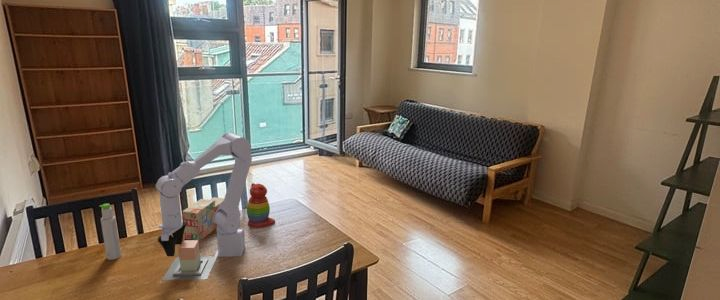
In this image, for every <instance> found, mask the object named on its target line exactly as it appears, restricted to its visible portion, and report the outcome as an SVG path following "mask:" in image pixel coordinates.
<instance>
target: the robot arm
mask: <svg viewBox="0 0 720 300" xmlns="http://www.w3.org/2000/svg"><path fill="white" fill-rule="evenodd" d="M251 148H252V145H251V144H250V142H249V140H248V139H247V138H245V137H242V136H240V135H238V134H236V133H234V132H231V131H229V132H225V133H224V134H223V135H222V136H220V137H218V138H217V139H216V141H215V142H214V143H213V144H212V145H210V146H209V147H208V148H206V150H204V151H203V152H202V153H200V155H198V156H197V157H196V158H195V159H194V160H186V161H182V162H181V163H180V164H179V166H178V167H177V168H175V169H174V170H172V172H171V171H170V172H168V173H167V175H162V176H161V177H160V178H158V180H157V182H156V183H155V188H156V190H157V191H158V192H159V193H158V194H159V205H160V214H161V215H160V216H161V222H162V223H160V224H159V225H158V228H159V229H161V235H159V236H158V237H157V242H158V243H159V245H161V246H162V248H163V250H164V252H165V255H166V257H175V253H176V245H180V244H181V243H182V241H183V240H184V235H185V227H186V225H187V223H186V222H183V214H182V213H181V200H180V194H181V192H182V188H183V187H184V186H186V185H187V184H188V183H189V182H191V181H192V180H193V179H195V178H196V177H197V176H198V175H199V174H200V170H201V169H203V167H205V166H207V165H208V164H209V163H211V162H212V161H214V160H215V159H216V158H219V157H220V156H231V157H232V158H233V159H234V164H233V168H232V171H231V175H230V177H229V182H228V185H227V187H226V192H225V195H224V197H223V198H224V202H223V203H222V204H220V205H219V207H218V210H217V211H216V212H215V214H214V216H213V221H214V223H215V224H217V227H216V240H217V241H216V244H217V250H216V252H215V254H214V256H217V257H242V255H243V253H244V250H245V248H246V237H245V236H246V235H245V229H243V228H240V226H241V210H240V208H239V206H240V203H241V199H242V196H243V192H244V189H245V185H246V183H247V179H248V176H249V175H248V174H249V171H250V168H251V164H252V160H253V158H252V153H251Z"/></svg>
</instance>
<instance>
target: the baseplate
mask: <svg viewBox="0 0 720 300" xmlns="http://www.w3.org/2000/svg"><path fill="white" fill-rule="evenodd" d="M217 258H218V255H217V256H215V255H214V256H211V255H209V256H208V255H207V256H200V260H201V264H200V266H199V268H198V270H197V271H192V272H181V267H180V260H179V256H176V257H175V259H174V261H173V262H172V263H171V265H170V267H169V268H168V270H167V271H166V273H165V274H164V276H163V278H162V279H161V281H193V280H194V281H195V280H197V281H199V280H201V281H202V280H208V277H209V276H210V273H211V272H212V269H213V267H214V264H215V262H216V260H217Z"/></svg>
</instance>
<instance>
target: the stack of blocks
mask: <svg viewBox="0 0 720 300" xmlns="http://www.w3.org/2000/svg"><path fill="white" fill-rule="evenodd" d="M224 198H225V197H216V196H215V197H214V196H213V197H212V198H210V199H205V198H200V199H199V200H197V201H195V202H194V203H193V204H191V205H189V206H188V207H187V208H185V209H183V210H182V216H183V221H182V222H186V223H187V225H186V227H185V230H184V240H198V241H200V240H202V239H205V237H207V236H209V234H211V233H212V232H213V231H214V230H215V229H217V224H215V223H214V221H213V216H214V214H215V212H216V211H217V210H218V207H219V205H220V204H222V203H223V202H224Z"/></svg>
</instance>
